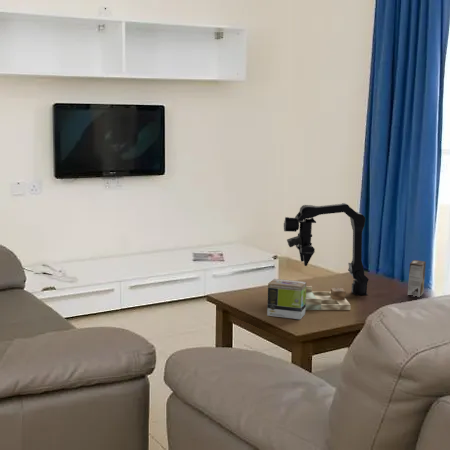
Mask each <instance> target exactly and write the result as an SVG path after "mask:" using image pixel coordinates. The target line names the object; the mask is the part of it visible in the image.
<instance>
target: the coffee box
mask: <svg viewBox="0 0 450 450" xmlns="http://www.w3.org/2000/svg"><path fill="white" fill-rule="evenodd" d="M426 264H427V262H426V261H423V260H417V259H416V260H415V259H413V260H411V262H409V270H408V285H407V296H408V295H413V296H412V297H415V296H417V298H421V297H420V296H423V294H424V292H425V289H424V288H425V276H426Z"/></svg>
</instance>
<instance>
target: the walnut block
mask: <svg viewBox="0 0 450 450" xmlns="http://www.w3.org/2000/svg"><path fill="white" fill-rule="evenodd" d="M330 292H331V294H330V297H331V298H332V299H333V300H345V299H346V291H345V289H344V288H343V287H342V288H341V287H331V288H330Z"/></svg>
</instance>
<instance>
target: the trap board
mask: <svg viewBox="0 0 450 450" xmlns="http://www.w3.org/2000/svg"><path fill="white" fill-rule="evenodd" d="M330 294H331V291H313V286H312V285H310V286H309V285H306V308H305V311H310V310H311V311H313V310H314V311H317V310H318V311H351V308H352V306H351V305H352V304H350V302H349V301H348V300H347V298H345V300H333V299H332V298H331V297H330Z"/></svg>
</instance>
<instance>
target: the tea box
mask: <svg viewBox="0 0 450 450" xmlns="http://www.w3.org/2000/svg"><path fill="white" fill-rule="evenodd" d="M306 286H307V281H303V280H302V281H301V280H289V279H279V278H273V279H272V280H271V281H270V282H269V283H268V284H267V304H266V305H267V307H266V315H267V316H269V317H270V316H271V317H275V318H276V317H277V318H283V319H292V320H293V319H294V320H302V318H303V317H304V316H305V315H306V310H305V308H306Z"/></svg>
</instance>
